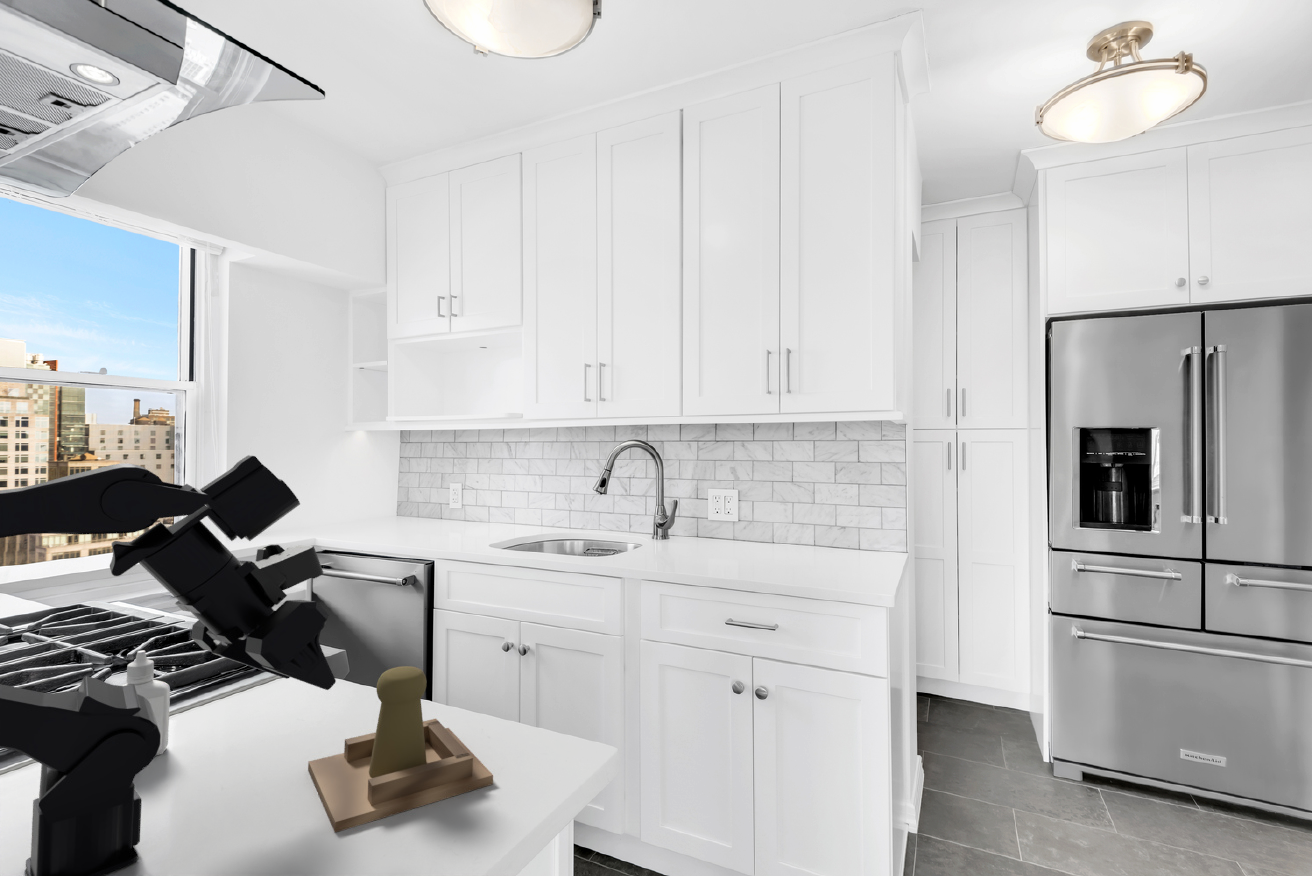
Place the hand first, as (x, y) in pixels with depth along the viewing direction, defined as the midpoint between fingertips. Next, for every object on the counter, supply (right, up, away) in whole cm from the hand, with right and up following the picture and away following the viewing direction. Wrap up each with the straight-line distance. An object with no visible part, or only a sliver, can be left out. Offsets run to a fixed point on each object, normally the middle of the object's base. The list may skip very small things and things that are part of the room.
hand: (310, 680), depth 68 cm
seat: (+8, -12, +4) cm, 15 cm away
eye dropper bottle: (-24, -11, +7) cm, 27 cm away
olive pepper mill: (+8, -12, +4) cm, 14 cm away
